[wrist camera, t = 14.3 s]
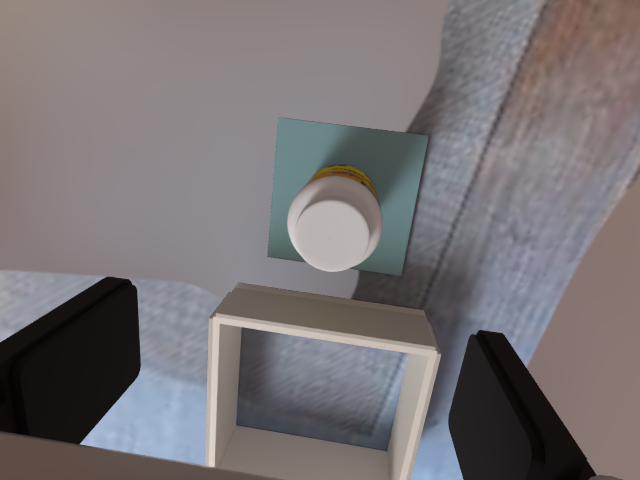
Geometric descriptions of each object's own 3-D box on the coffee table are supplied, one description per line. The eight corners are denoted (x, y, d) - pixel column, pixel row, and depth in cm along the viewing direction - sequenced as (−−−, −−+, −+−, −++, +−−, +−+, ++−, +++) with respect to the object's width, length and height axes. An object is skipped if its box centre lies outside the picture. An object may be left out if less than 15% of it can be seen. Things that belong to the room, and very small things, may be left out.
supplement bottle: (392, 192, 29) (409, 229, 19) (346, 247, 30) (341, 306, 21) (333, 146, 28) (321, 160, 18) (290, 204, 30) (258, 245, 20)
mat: (279, 117, 29) (278, 117, 28) (427, 135, 28) (428, 135, 27) (269, 254, 32) (267, 256, 31) (400, 273, 31) (401, 276, 31)
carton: (235, 278, 33) (209, 312, 27) (428, 307, 32) (443, 348, 26) (228, 430, 38) (204, 484, 32) (393, 459, 37) (400, 520, 31)
